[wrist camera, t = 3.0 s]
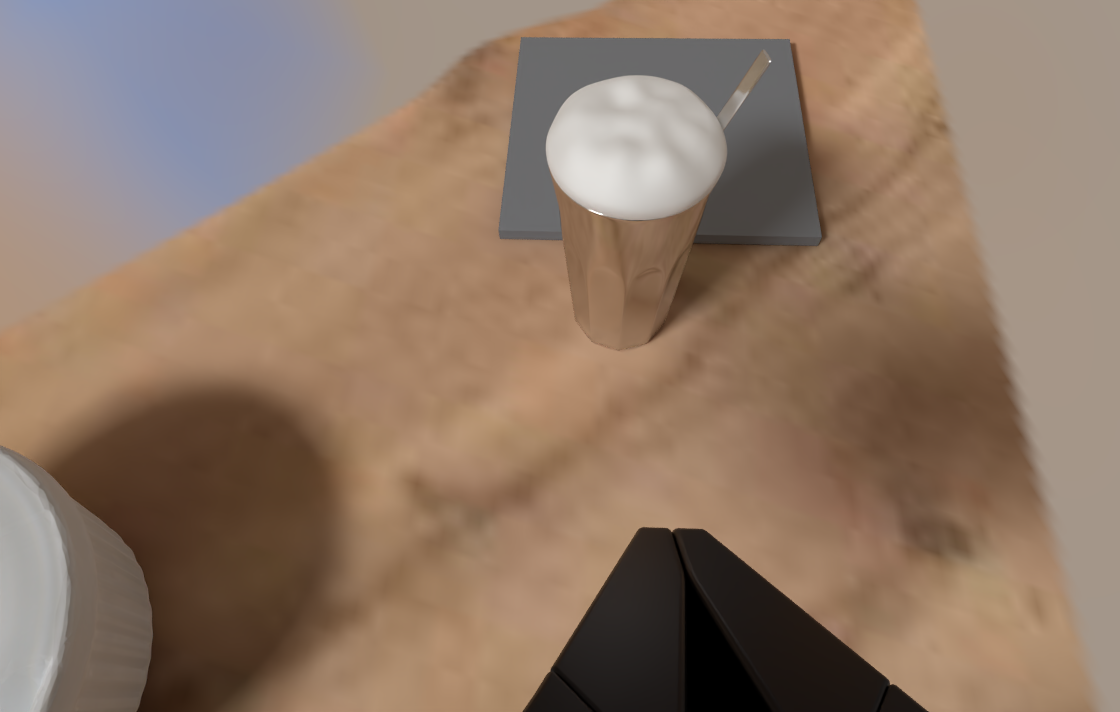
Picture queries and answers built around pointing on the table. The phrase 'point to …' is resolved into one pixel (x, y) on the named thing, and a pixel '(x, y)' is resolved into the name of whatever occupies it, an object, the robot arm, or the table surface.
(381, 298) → the table surface
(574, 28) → the table surface
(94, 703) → the ramekin
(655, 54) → the mat
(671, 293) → the milkshake
